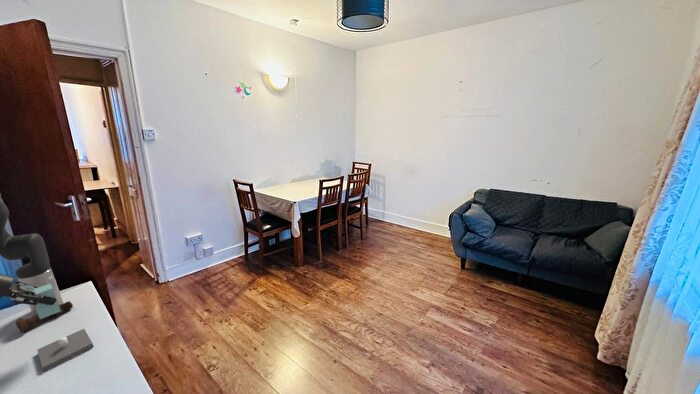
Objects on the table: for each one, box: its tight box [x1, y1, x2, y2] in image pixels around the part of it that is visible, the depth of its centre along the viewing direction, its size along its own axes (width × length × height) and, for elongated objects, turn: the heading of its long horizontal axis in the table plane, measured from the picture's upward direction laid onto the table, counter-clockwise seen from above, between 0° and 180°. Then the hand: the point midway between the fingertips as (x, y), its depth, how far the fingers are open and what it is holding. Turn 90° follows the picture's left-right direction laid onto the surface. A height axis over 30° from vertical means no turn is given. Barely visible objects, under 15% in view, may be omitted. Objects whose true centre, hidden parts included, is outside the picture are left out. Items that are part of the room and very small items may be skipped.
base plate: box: [36, 328, 94, 372], centre depth 96 cm, size 12×12×4 cm
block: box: [30, 284, 61, 319], centre depth 96 cm, size 5×5×9 cm
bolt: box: [15, 300, 74, 334], centre depth 111 cm, size 6×5×15 cm
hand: (53, 299), depth 97 cm, fingers closed on block, 5 cm apart
